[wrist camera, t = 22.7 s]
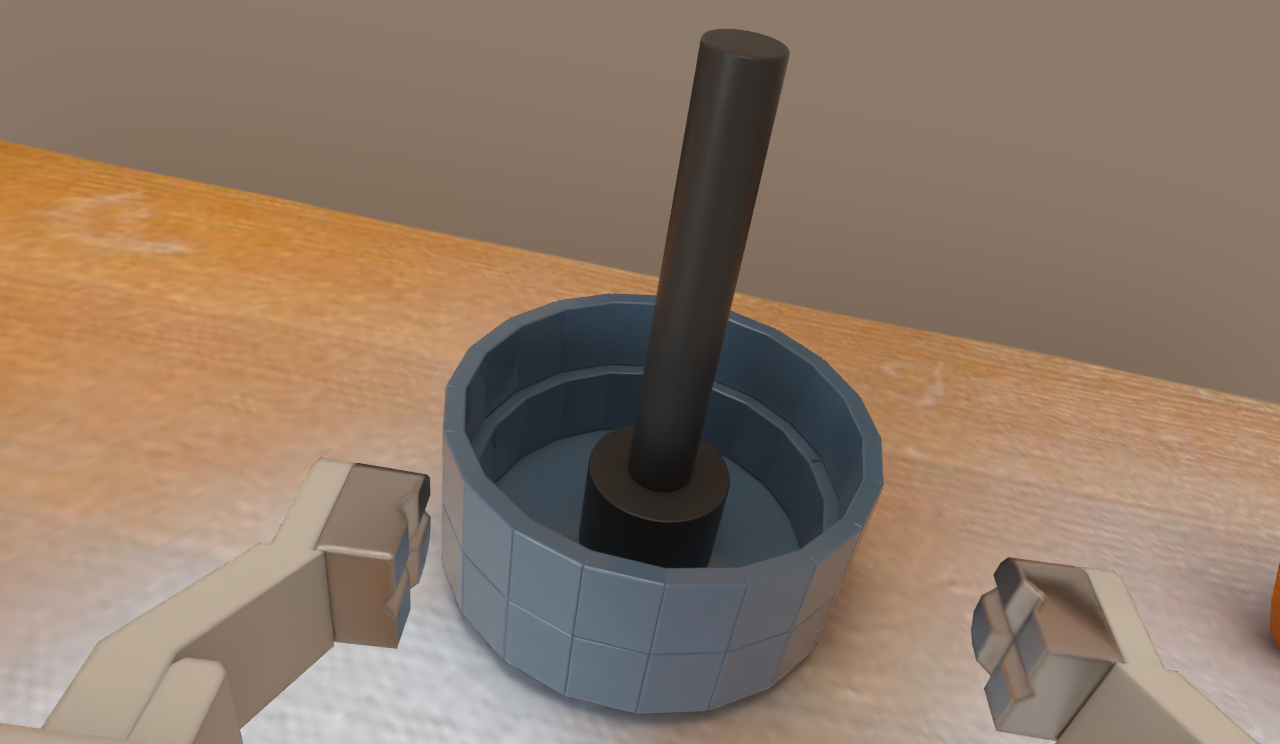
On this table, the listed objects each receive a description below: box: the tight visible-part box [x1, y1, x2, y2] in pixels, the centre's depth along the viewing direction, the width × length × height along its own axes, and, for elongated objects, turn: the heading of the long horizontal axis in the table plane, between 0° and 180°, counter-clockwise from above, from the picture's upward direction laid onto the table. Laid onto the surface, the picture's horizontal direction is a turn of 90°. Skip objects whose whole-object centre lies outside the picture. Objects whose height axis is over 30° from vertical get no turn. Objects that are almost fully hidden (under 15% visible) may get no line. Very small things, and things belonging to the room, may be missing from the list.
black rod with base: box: [579, 29, 790, 568], centre depth 25 cm, size 4×4×16 cm
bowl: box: [442, 294, 884, 714], centre depth 28 cm, size 13×13×6 cm
